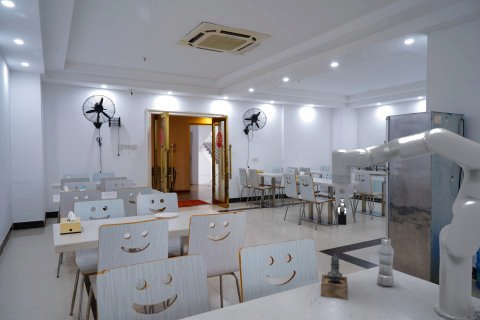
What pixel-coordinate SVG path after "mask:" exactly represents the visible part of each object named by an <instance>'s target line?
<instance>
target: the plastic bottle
mask: <svg viewBox="0 0 480 320" xmlns="http://www.w3.org/2000/svg"><path fill="white" fill-rule="evenodd" d="M380 241H381V244H380V245H379V247H378V250H377V252H378V253H377V254H378V273H377V282H378V284H379V285H380V286H383V287H391V286H393V284H394V282H395V281H394V273H393V272H394V271H393V261H394V255H395V251H394V248H393V246H392V245H391V244H392V242H391V241H392V239H391V238H388V237H381V240H380Z"/></svg>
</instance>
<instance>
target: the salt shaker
mask: <svg viewBox="0 0 480 320" xmlns="http://www.w3.org/2000/svg"><path fill="white" fill-rule="evenodd" d="M330 262H331V263H330V271H329V272H327V274H326V275H328V277H329V279H330V281H328V283H332V284H342V283H341V282H340V280H341V278H342V276H343V274H342V273H341V272H340V265H341V264H340V258H339V256H337V253H334V255H331V261H330Z"/></svg>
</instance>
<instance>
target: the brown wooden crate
mask: <svg viewBox="0 0 480 320" xmlns="http://www.w3.org/2000/svg"><path fill="white" fill-rule="evenodd" d="M328 281H330V279H329V277H328V274H326V273H325V274H322V275H321V282H320V297H324V298H325V297H326V298H333V299H340V300H345V301H346V300H348V299H349V298H348V297H349V296H348V294H349V293H348V292H349V291H348V289H349V288H348V287H349V286H348V277H347V276H343V275H342V278H341V280H340V282H341V283H342V284H332V283H328Z"/></svg>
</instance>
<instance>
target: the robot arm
mask: <svg viewBox="0 0 480 320" xmlns="http://www.w3.org/2000/svg"><path fill="white" fill-rule="evenodd" d="M434 154H437V155H439V156H440V157H443V158H445V159H447V160H449V161H451V162H453V163H456V164H457V165H458V166H459V167H461V168H462V171H463V179H462V182H461V185H460V188H459V191H458V193H457V196H456V198H455V200H454V202H453V204H452V207H451V209H452V210H451V212H452V214H453V217H452V220H451V223H449V224H446V225H444V227H442V229H441V230H440V232H439V235H438V237H439V238H438V240H439V241H438V243H439V280H438V281H439V282H438V283H439V285H438V286H439V287H438V288H439V289H438V302H436V303H435V304H434V305H433V310H434V311H435V312H436V314H438V315H440V316H441V317H443V318H445V319H448V320H477V314H478V313H479V314H480V304H474V303H472V283H473V281H472V280H473V279H472V278H473V277H472V276H473V274H472V273H473V256H475V255H476V253H477V252H478V251H479V249H480V143H478V142H475V141H473V140H472V139H468V138H466V137H464V136H462V135H460V134H457V133H455V132H453V131H450V130H448V129H446V128H443V127H434V128H432V129H430V130H426V131H423V132H418V133H414V134H410V135H406V136H401V137H398V138H394V139H392V140H389V141H388V142H384V143H382V144H378V145H373V146H370V147H366V148H365V147H364V148H357V149H354V148H353V149H333V151H332V152H331V184H332V185H334V193H335V194H334V196H335V197H334V198H335V205H336V209H337V225H338V226H347V210H350V187H349V185H351V184H352V168H357V169H363V168H366V167H371V166H375V165H379V164H385V163H390V162H401V161H405V160H410V159H416V158H420V157H424V156H428V155H429V156H430V155H434ZM346 209H347V210H346Z"/></svg>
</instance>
